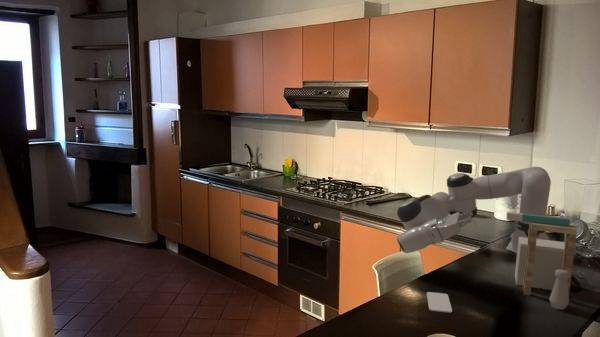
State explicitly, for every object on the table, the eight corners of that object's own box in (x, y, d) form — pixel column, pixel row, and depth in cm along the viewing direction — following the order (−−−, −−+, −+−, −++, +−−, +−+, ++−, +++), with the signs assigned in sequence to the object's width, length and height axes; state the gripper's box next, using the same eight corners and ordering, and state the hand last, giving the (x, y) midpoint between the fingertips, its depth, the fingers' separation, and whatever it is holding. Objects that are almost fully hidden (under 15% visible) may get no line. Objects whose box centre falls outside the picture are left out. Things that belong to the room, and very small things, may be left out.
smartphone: (447, 293, 172) (452, 311, 158) (447, 295, 172) (452, 314, 158) (426, 291, 173) (429, 309, 159) (426, 293, 174) (429, 311, 159)
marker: (506, 218, 178) (507, 211, 177) (568, 224, 171) (568, 218, 171) (506, 219, 176) (507, 213, 175) (569, 226, 169) (570, 219, 168)
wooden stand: (522, 287, 181) (530, 219, 177) (564, 293, 176) (573, 224, 173) (524, 294, 175) (531, 223, 171) (568, 301, 170) (577, 228, 166)
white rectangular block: (514, 275, 193) (518, 236, 191) (559, 282, 188) (564, 242, 185) (516, 284, 184) (520, 243, 181) (564, 291, 178) (569, 249, 176)
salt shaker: (551, 302, 169) (555, 266, 167) (569, 307, 165) (574, 270, 163) (546, 307, 164) (551, 270, 162) (565, 312, 161) (570, 274, 159)
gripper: (443, 231, 197) (476, 217, 192) (438, 244, 178) (475, 230, 173) (436, 216, 197) (468, 203, 192) (431, 229, 178) (467, 214, 173)
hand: (472, 216), depth 182 cm, fingers open, 8 cm apart
